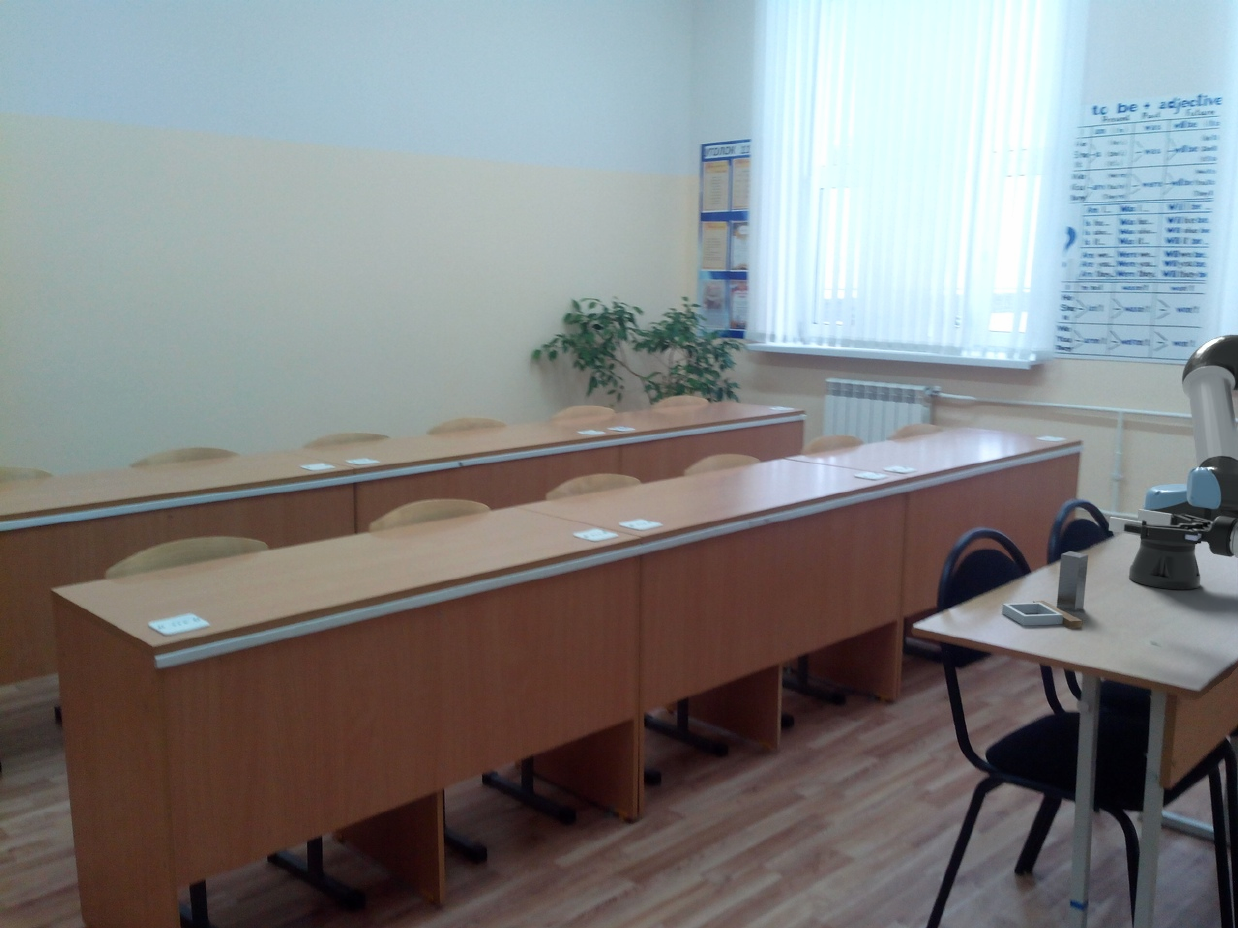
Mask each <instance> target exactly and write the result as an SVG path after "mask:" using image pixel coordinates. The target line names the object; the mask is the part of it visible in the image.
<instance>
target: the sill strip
mask: <svg viewBox="0 0 1238 928" xmlns="http://www.w3.org/2000/svg"><path fill="white" fill-rule="evenodd" d="M1032 603H1042V604H1044V605H1045V606H1047V607H1049V608H1051V609H1053V610H1055V611H1057V612H1059V613H1061V614H1063V621H1062V624H1061V625H1064V626H1066V627H1067V628H1068V629H1080V628H1082V623H1083V620H1081V619H1079V618H1078V617H1076V616H1073V615H1072V614H1070V613H1068V612H1067V611H1064V610H1063V609H1060V608H1057V606H1054V605H1053V604H1050V603H1048V602H1047V601H1045V600H1033V601H1032Z"/></svg>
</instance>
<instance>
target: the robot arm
mask: <svg viewBox="0 0 1238 928" xmlns="http://www.w3.org/2000/svg"><path fill="white" fill-rule="evenodd" d="M1181 384H1182V389H1183V392H1184V394H1185V396H1186V397H1188V398H1189V405H1190V414H1191V422H1192V424H1191V425H1192V430H1193V439H1194V448H1195V455H1196V457H1195V459H1196V466H1197V467H1192V468H1191V469H1190V470H1189V471H1188V475H1187V481H1186V483H1171V484H1170V483H1168V484H1161V485H1156V486H1153V487H1150V488H1149V489H1148V490H1147V491H1146V492H1145V497H1144V504H1143V506H1142V508H1139V509H1138V513H1137V520H1134V519H1132V520H1131V519H1125V518H1119V517H1115V516H1110V517H1109V523H1108V525H1109V526H1108V531H1111V532H1116V533H1121V534H1122V533H1123V534H1128V535H1133V536H1138V537H1140V543H1139V544H1140V545H1139V547H1138V550H1137V552H1136V554H1135V556H1134V559H1133V562H1132V564H1131V565H1130V567H1129V570H1128V571H1129V572H1128V573H1129V574H1128V577H1129V579H1130V580H1131V581H1134V582H1136V583H1139V584H1140V585H1141V584H1142V585H1146V586H1149V587H1153V588H1154V587H1155V588H1161V589H1168V590H1194V589H1197V588H1199V587H1200V586H1201V574H1200V570H1199V565H1198V562H1197V557H1196V546H1197V545H1198V544H1202V543H1207V544H1208V549H1209V551H1210V552H1211V553H1212V555H1213V554H1215V555H1217V556H1218V555H1219V556H1225V557H1230V558H1232V557H1235V558H1237V559H1238V425H1237V421H1236V414H1235V409H1234V408H1235V407H1234V402H1233V397H1232V392H1233V391H1238V334H1226V335H1221V336H1218V337H1215V338H1213V339H1211V340H1209V341H1206V342H1205V343H1204V344H1202V345H1201V346H1199V347H1198V348H1197V349H1196V350H1195V351H1194V352H1193V353H1192V354H1191V355H1190V356H1189V357H1188V359H1187V362H1186V363H1185V365H1184V368H1183V371H1182V376H1181Z"/></svg>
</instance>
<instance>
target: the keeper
mask: <svg viewBox="0 0 1238 928" xmlns="http://www.w3.org/2000/svg"><path fill="white" fill-rule="evenodd" d="M1001 611H1002V612H1001V613H1002V615H1005V616H1006V617H1009V618H1010V619H1012V620H1014V621H1015V622H1017V623H1018V624H1020V625H1022V626H1025V627H1026V626H1046V625H1047V626H1051V625H1063V624H1062V621H1063V614H1061V613H1059V612H1057V611H1055V610H1053V609H1051V608H1049V607H1047V606H1045V605H1044V604H1042V603H1033V602H1021V603H1020V602H1019V603H1017V602H1016V603H1002V608H1001Z"/></svg>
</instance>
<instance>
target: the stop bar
mask: <svg viewBox="0 0 1238 928" xmlns="http://www.w3.org/2000/svg"><path fill="white" fill-rule="evenodd" d="M1088 560H1089V554H1086V553H1082V552H1077V551H1071V550H1070V551H1069V550H1068V551H1067V552H1064V553H1061V554H1060V566H1059V567H1060V568H1059V577H1058V588H1057V589H1058V590H1057V601H1056V607H1057V608H1058V609H1060V610H1066V611H1069V612H1073V613H1076V612H1078V611H1080V610H1083V609H1084V603H1085V595H1086V594H1085V593H1086V583H1087V573H1088V572H1087V571H1088Z"/></svg>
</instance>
